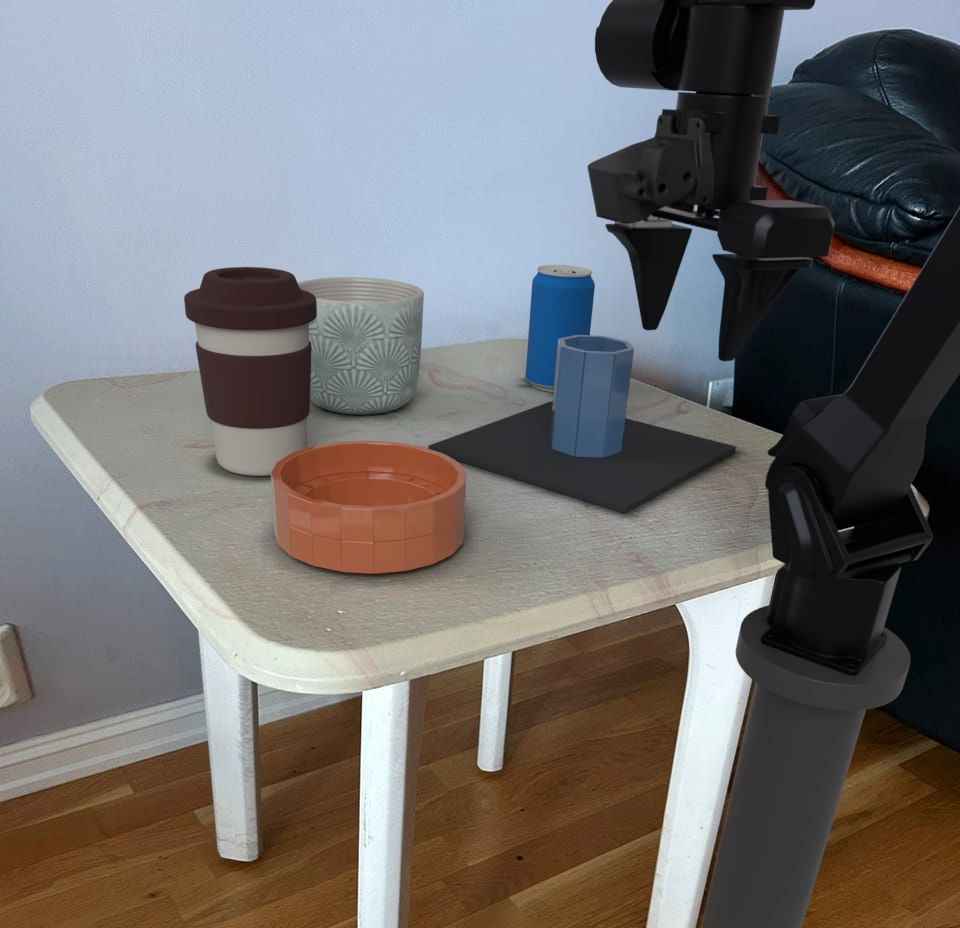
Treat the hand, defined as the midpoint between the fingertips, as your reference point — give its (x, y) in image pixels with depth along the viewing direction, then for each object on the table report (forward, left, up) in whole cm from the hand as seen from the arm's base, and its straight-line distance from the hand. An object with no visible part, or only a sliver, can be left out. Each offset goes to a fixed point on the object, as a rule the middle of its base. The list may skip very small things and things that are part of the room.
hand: (685, 344), depth 70 cm
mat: (+12, -8, -13) cm, 19 cm away
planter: (+36, -4, -13) cm, 39 cm away
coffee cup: (+30, +14, -13) cm, 36 cm away
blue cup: (+12, -8, -12) cm, 19 cm away
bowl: (+13, +19, -13) cm, 26 cm away
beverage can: (+26, -24, -13) cm, 38 cm away
